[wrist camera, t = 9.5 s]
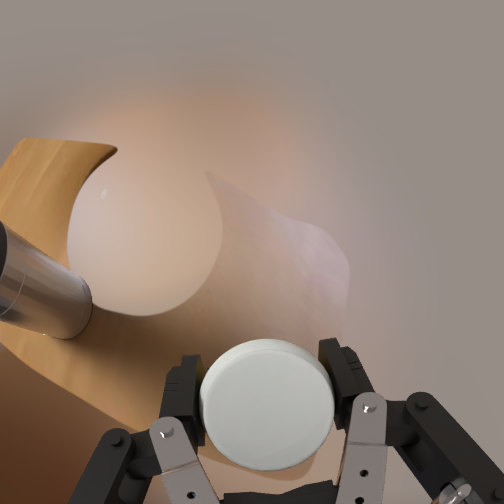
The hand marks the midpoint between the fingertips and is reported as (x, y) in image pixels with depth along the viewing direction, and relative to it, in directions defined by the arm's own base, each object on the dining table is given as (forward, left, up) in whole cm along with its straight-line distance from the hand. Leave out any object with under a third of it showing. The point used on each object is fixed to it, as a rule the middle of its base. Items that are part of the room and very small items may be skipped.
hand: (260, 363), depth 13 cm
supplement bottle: (0, -2, -5) cm, 5 cm away
